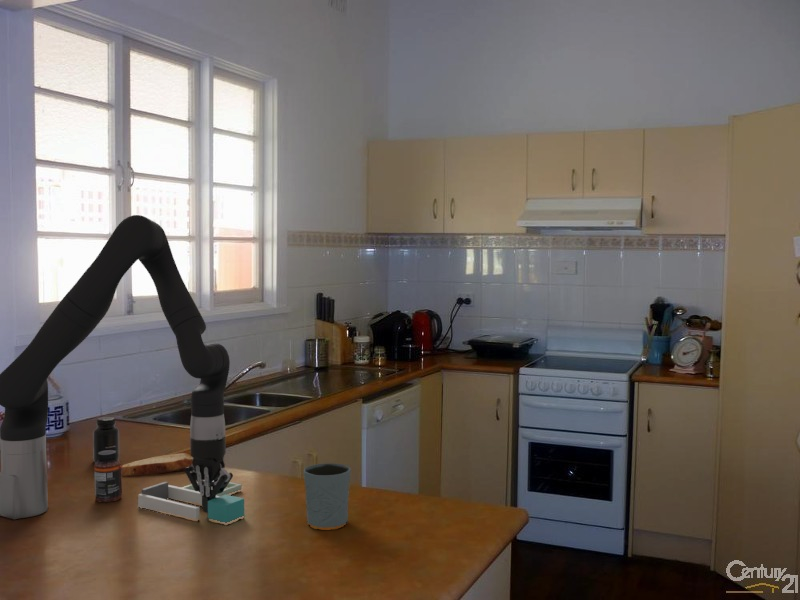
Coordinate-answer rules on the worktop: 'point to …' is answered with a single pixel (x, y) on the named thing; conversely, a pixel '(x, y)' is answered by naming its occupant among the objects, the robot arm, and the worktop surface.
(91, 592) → the worktop surface
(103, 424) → the supplement bottle
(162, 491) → the white u-shaped frame
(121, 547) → the worktop surface
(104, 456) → the supplement bottle
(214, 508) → the teal block
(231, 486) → the tray
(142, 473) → the bread slice
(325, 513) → the grey blue cup
